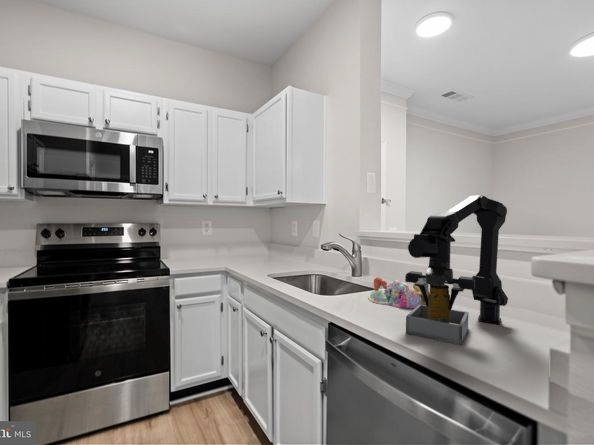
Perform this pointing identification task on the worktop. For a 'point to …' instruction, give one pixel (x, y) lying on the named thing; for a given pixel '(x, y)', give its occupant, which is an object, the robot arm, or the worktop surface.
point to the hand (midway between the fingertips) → (438, 308)
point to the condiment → (439, 303)
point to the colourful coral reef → (396, 294)
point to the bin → (437, 325)
